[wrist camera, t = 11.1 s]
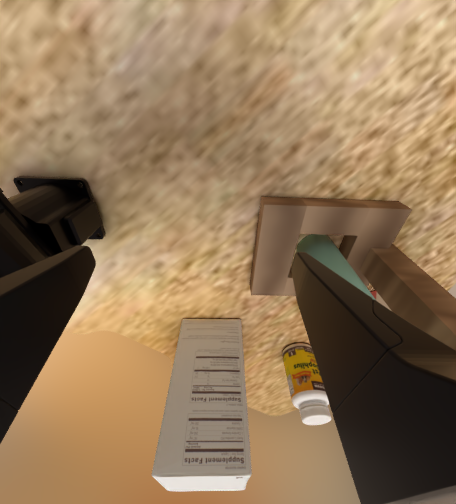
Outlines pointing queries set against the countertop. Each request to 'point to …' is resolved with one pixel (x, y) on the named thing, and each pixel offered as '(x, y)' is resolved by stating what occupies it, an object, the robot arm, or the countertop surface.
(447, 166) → the countertop surface
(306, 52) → the countertop surface
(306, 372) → the supplement bottle
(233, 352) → the supplement box
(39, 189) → the robot arm
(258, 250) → the socket stand
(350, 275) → the peg
